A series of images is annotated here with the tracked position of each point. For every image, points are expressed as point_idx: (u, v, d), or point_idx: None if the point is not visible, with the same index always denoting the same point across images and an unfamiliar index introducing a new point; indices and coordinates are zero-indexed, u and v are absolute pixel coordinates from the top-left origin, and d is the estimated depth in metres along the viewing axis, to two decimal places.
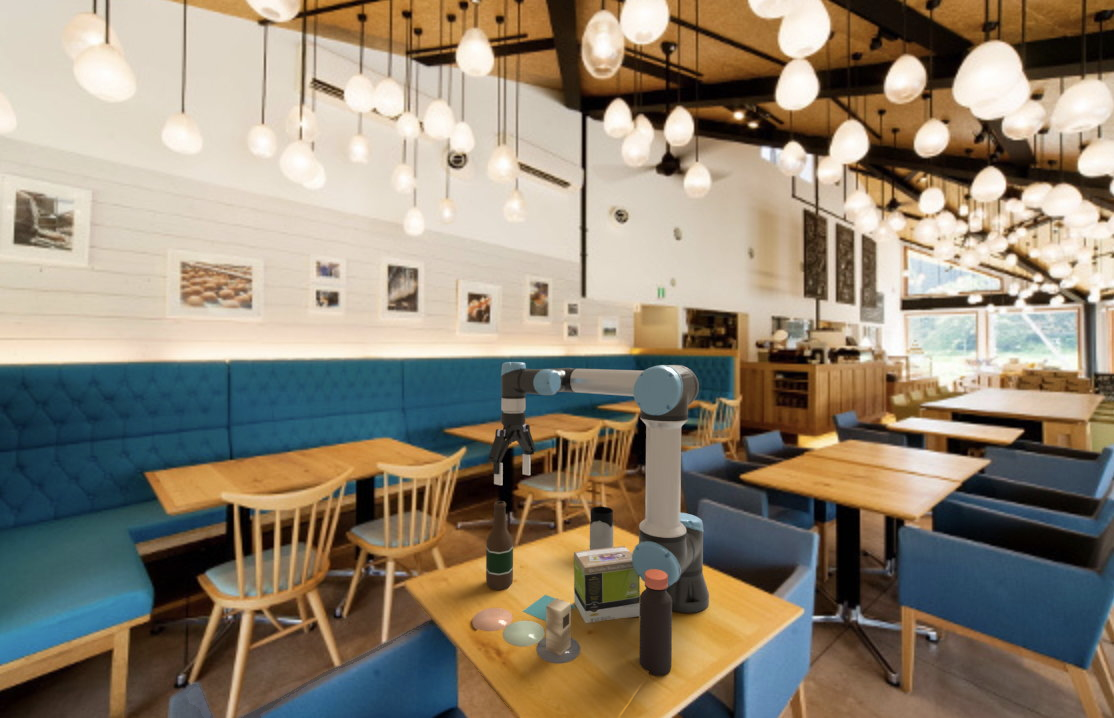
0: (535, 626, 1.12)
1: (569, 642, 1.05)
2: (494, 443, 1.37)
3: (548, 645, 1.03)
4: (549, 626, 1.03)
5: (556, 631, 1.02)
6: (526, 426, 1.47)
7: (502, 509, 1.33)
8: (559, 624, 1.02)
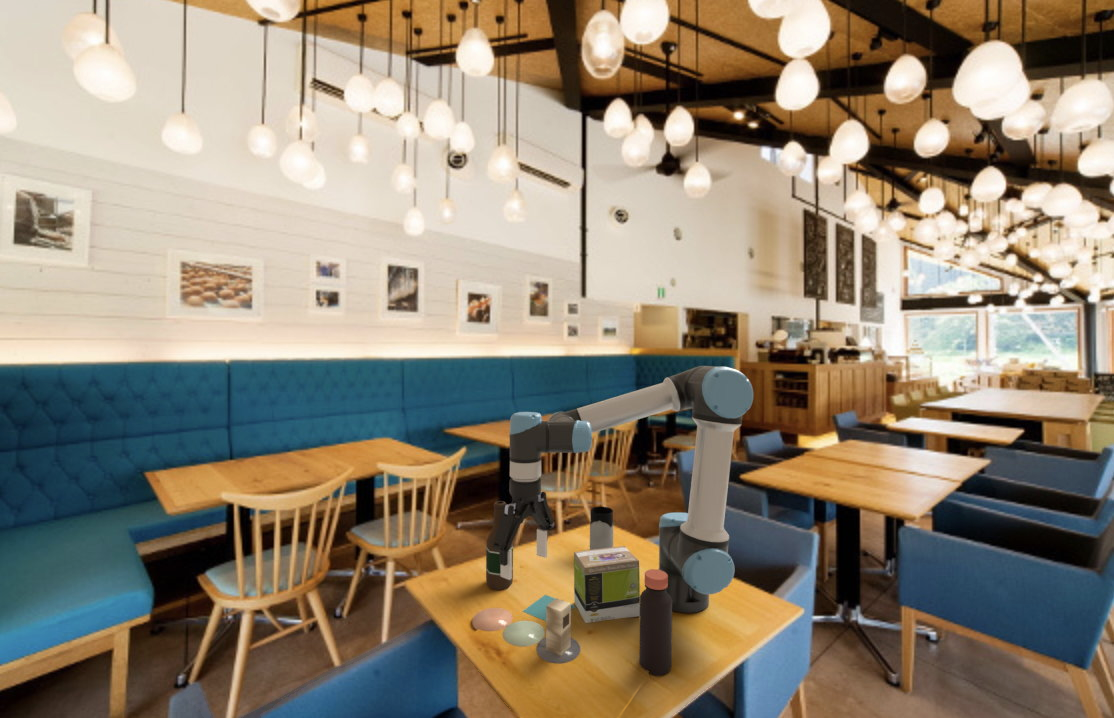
0: (535, 626, 1.12)
1: (569, 642, 1.05)
2: (500, 524, 1.03)
3: (548, 645, 1.03)
4: (549, 626, 1.03)
5: (556, 631, 1.02)
6: (542, 494, 1.14)
7: None
8: (559, 624, 1.02)
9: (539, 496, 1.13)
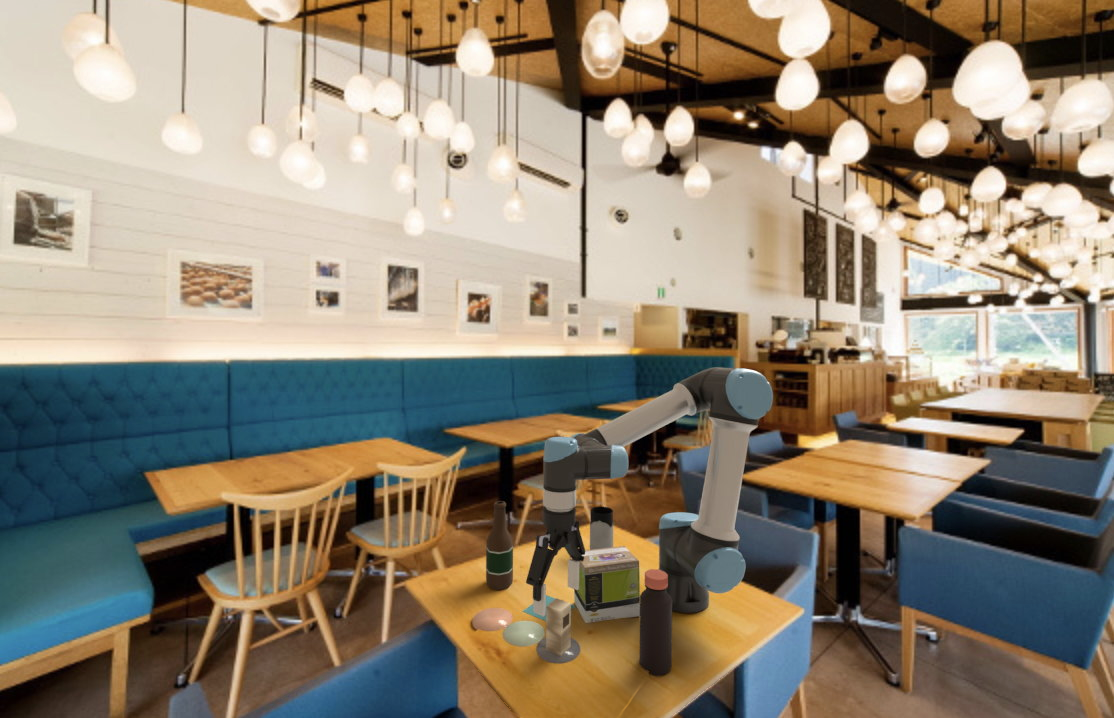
0: (535, 626, 1.12)
1: (569, 642, 1.05)
2: (535, 556, 0.98)
3: (548, 645, 1.03)
4: (549, 626, 1.03)
5: (556, 631, 1.02)
6: (575, 523, 1.08)
7: (502, 509, 1.33)
8: (559, 624, 1.02)
9: None
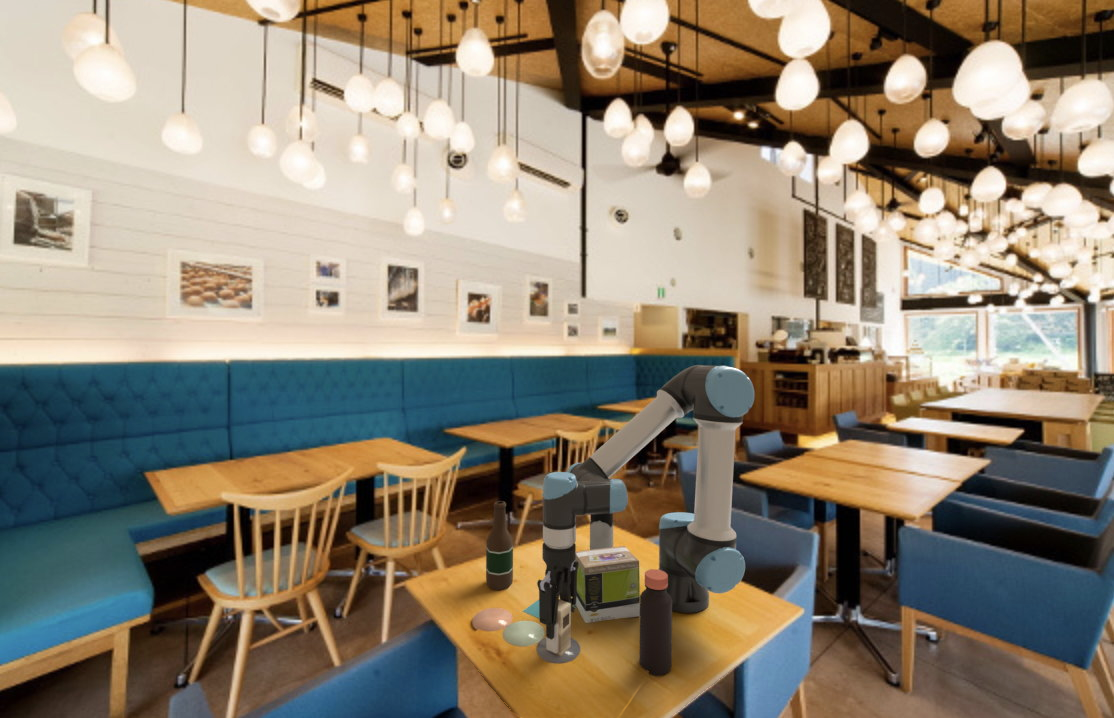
0: (535, 626, 1.12)
1: (570, 642, 1.05)
2: (541, 600, 1.00)
3: None
4: None
5: None
6: (574, 563, 1.08)
7: (502, 509, 1.33)
8: (559, 624, 1.02)
9: (572, 564, 1.08)
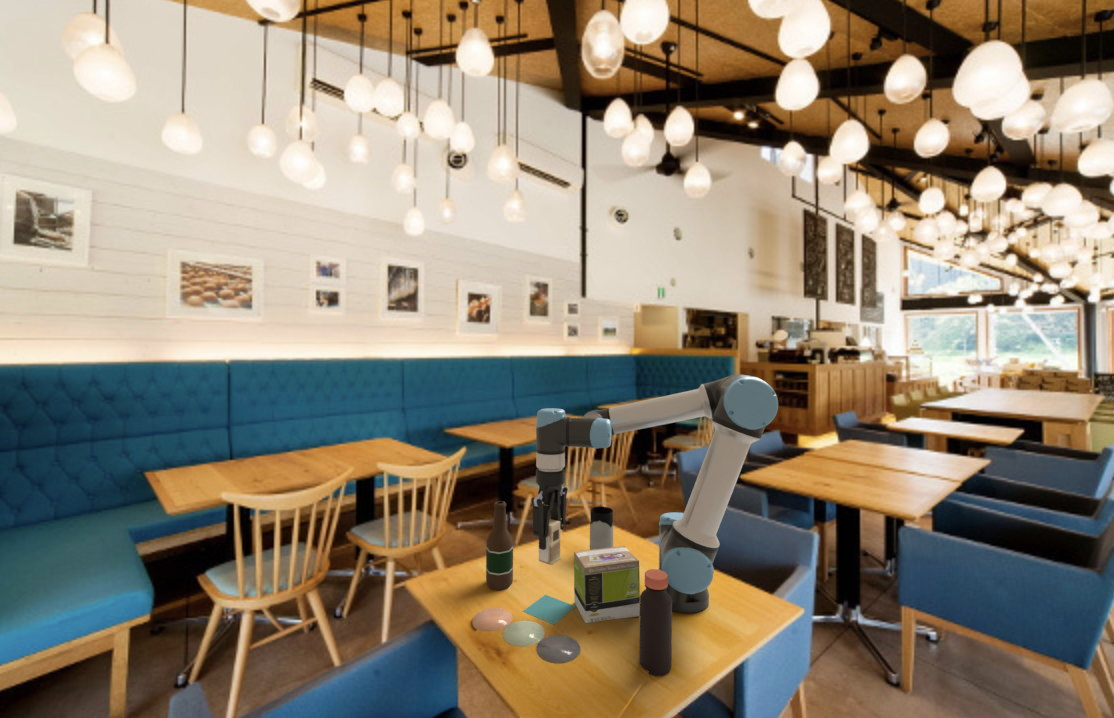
0: (535, 626, 1.12)
1: (559, 555, 1.20)
2: (534, 515, 1.15)
3: None
4: None
5: None
6: (564, 488, 1.24)
7: (502, 509, 1.33)
8: (550, 537, 1.17)
9: (561, 489, 1.24)
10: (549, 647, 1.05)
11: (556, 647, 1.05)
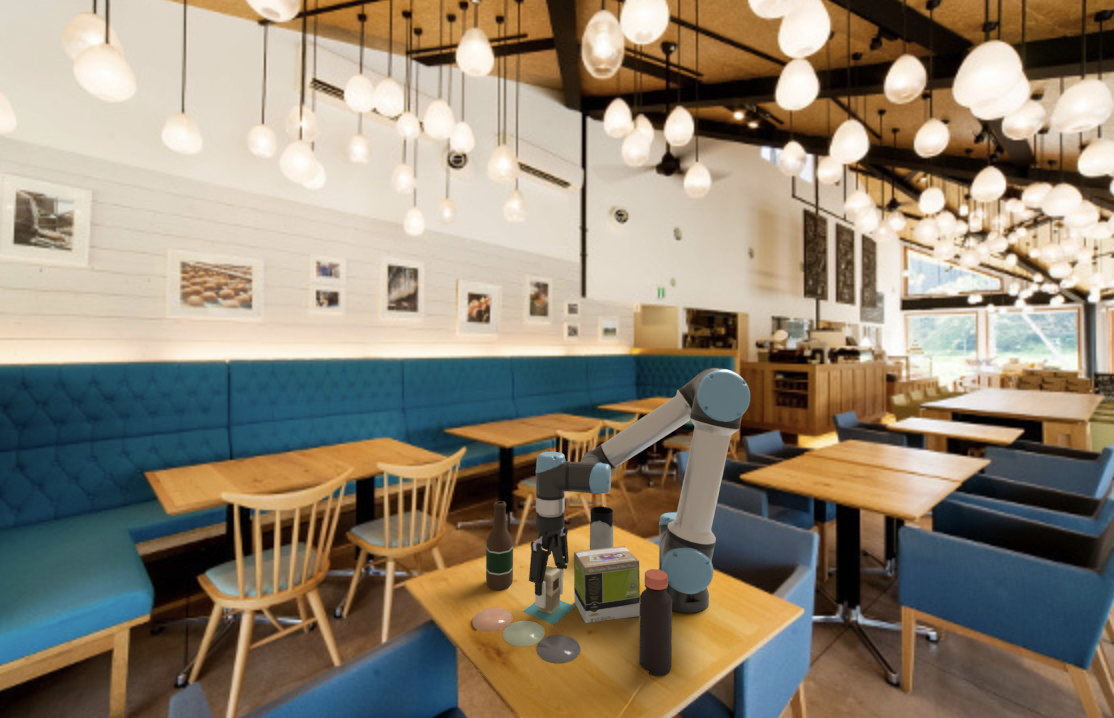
0: (535, 626, 1.12)
1: (559, 603, 1.21)
2: (532, 559, 1.15)
3: None
4: None
5: (547, 593, 1.18)
6: (564, 529, 1.24)
7: (502, 509, 1.33)
8: (550, 587, 1.18)
9: (561, 530, 1.24)
10: (549, 647, 1.05)
11: (556, 647, 1.05)
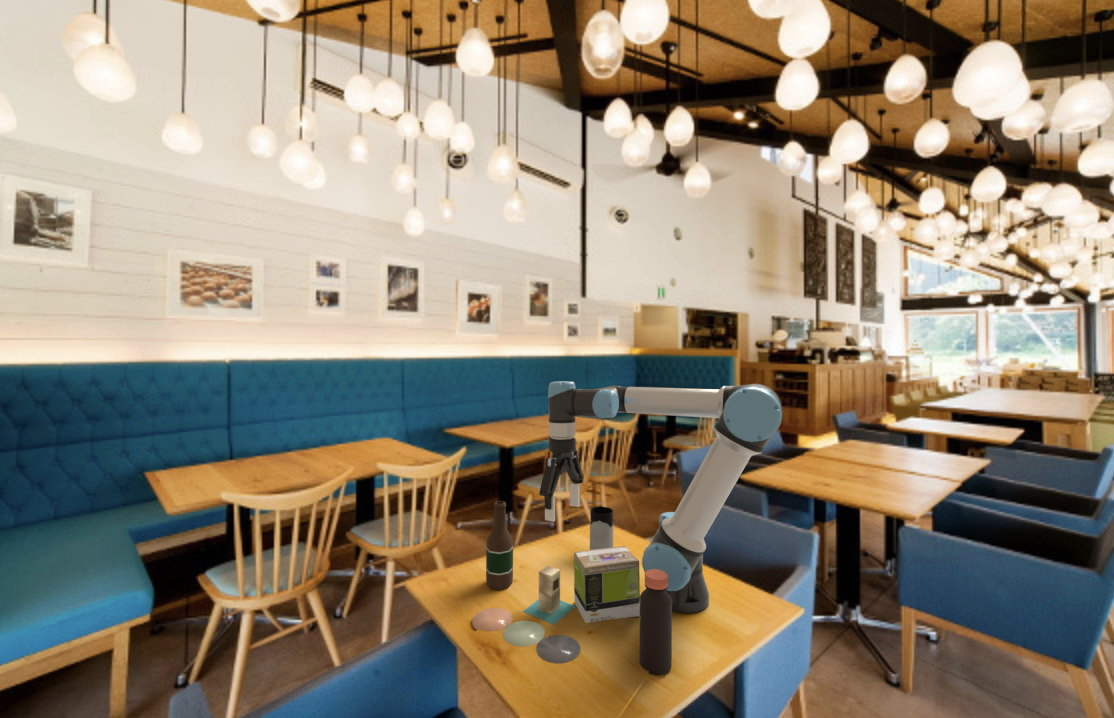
0: (535, 626, 1.12)
1: (559, 603, 1.21)
2: (545, 474, 1.21)
3: (540, 605, 1.19)
4: (541, 589, 1.19)
5: (547, 593, 1.18)
6: (574, 452, 1.32)
7: (502, 509, 1.33)
8: (550, 587, 1.18)
9: (572, 454, 1.32)
10: (549, 647, 1.05)
11: (556, 647, 1.05)
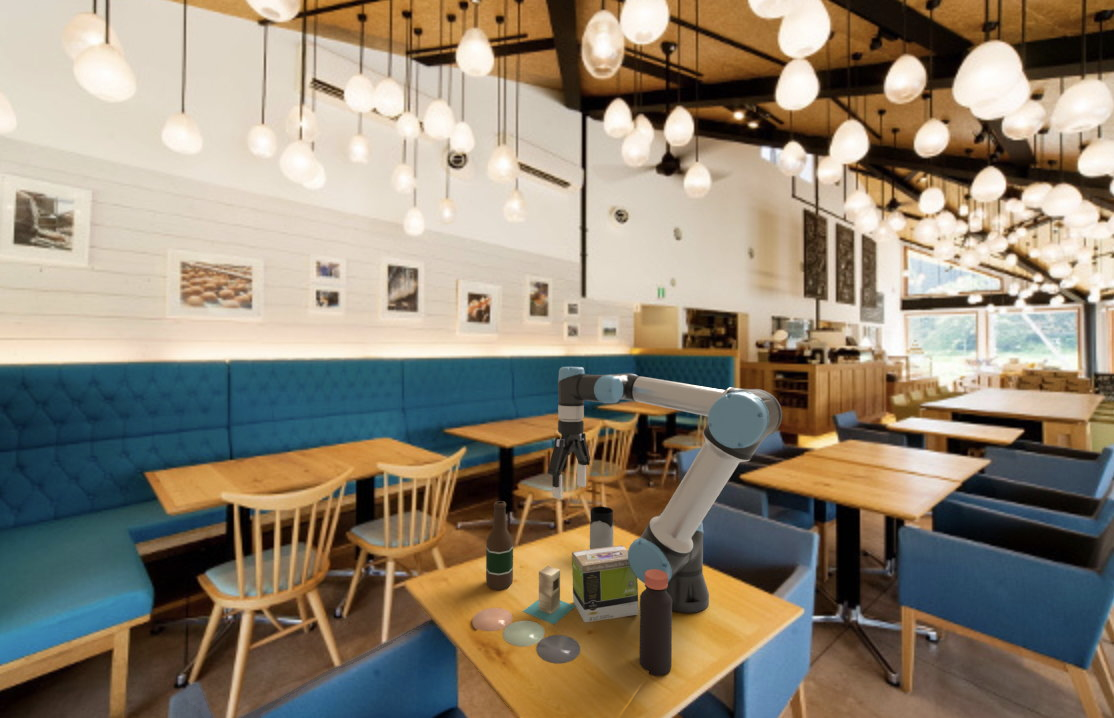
0: (535, 626, 1.12)
1: (559, 603, 1.21)
2: (553, 454, 1.28)
3: (540, 605, 1.19)
4: (541, 589, 1.19)
5: (547, 593, 1.18)
6: (582, 435, 1.39)
7: (502, 509, 1.33)
8: (550, 587, 1.18)
9: (580, 436, 1.38)
10: (549, 647, 1.05)
11: (556, 647, 1.05)
